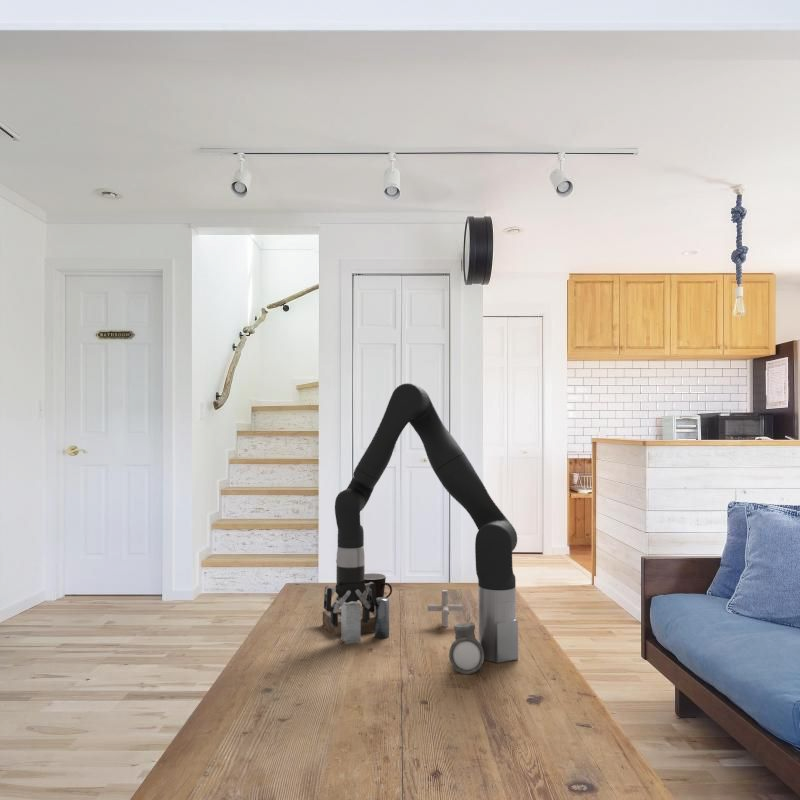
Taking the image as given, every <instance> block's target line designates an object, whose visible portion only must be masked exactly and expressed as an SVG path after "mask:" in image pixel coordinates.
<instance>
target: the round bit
mask: <svg viewBox="0 0 800 800" xmlns="http://www.w3.org/2000/svg"><path fill="white" fill-rule="evenodd" d="M376 601H377V604H376V605H375V611H374V615H375V632H374V637H375V638H376V639H380V640H381V639H388V638H390V597H388V598H386V596H384V597H378V598H376Z"/></svg>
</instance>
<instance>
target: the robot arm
mask: <svg viewBox="0 0 800 800" xmlns="http://www.w3.org/2000/svg"><path fill="white" fill-rule="evenodd" d="M408 424H410V425H411V427H412V428H413V430H414V431H415V432H416V434H417V435H418V437H419V438H420V440H421V443H422V444H423V445H422V446H423V447H424V451H425V454H426V456H427V459H428V462H429V464H430V467H431V468H432V470H433V472H434V473H435V475H436V477H437V478H438V480H439V482H440V483H441V485H442V486H443V488H444V489H445V490H446V492H447V493H448V494H449V495H450V496H451V497H452V498H453V499H454V500H455V501H456V502H458V504H459V505H460V506H462V508H463V509H465V511H466V512H467V513H468V515H469V516H470V518H471V520H472V521H473V523H474V524H475V526H476V528H477V530H478V531H477V532H476V534H475V535H476V536H475V542H474V544H475V545H474V552H475V556H474V557H475V572H476V576H477V583H478V591H477V592H478V642H479V643H480V644H481V646H482V648H483V652H484V660H486V661H488V662H489V661H491V662H494V663H497V664H499V663H505V662H510V661H515V660H519V622H518V619H517V609H516V608H517V602H516V600H517V599H516V595H517V594H516V591H517V590H516V589H517V587H516V583H517V582H516V575H515V573H514V571H513V570H514V569H513V551H514V550H515V549H516V547H517V544H518V536H517V535H518V534H517V532H516V531H517V530H516V529H515V527H514V526H513V524H512V523H511V522H510V521H509V520H508V518H507V517H506V516H505V514H504V513H503V512H502V511H501V509H500V508H499V507H498V505H497V504H496V503H495V502H494V500H493V498H492V497H491V496H490V494H489V492H488V490H487V489H486V486H485V485H484V483H483V481H482V480H481V478H480V477H479V475H478V473H477V472H476V470H475V468H474V466H473V464H472V463H471V462H470V460H469V459H468V457H467V455H466V454H465V452H464V451H463V449H462V448H461V446H460V445H459V444H458V442H457V441H456V439H455V438H454V436H452V434H451V433H450V431H449V430H448V429H447V428H446V426H445V424H444V423H443V422H442V420H441V418H440V416H439V414H438V413H437V410H436V408H435V406H434V405H433V402H432V400H431V398H430V395H429V394H428V392H427V391H426V390H425V389H424V388H422V387H420V386H419V385H416V384H413V383H410V382H407V383H403V384H400V385H398V386H397V387H395V389H394V390H393V392H392V393H391V396H390V399H389V401H388V403H387V406H386V409H385V410H384V414H383V416H382V418H381V421H380V423H379V425H378V427H377V429H376V431H375V434H374V435H373V437H372V439H371V441H370V443H369V445H368V446H367V448H366V450H365V451H364V453H363V455H362V456H361V457H360V460H359V462H358V463H357V465H356V467H355V469H354V470H353V475H352V476H353V477H352V479H351V480H350V482H349V484H348V486H347V488H345V489H344V490H343V491H340V492H339V493H338V494H337V496H336V498H335V500H334V501H335V502H334V516H335V520H336V521H335V522H336V526H337V527H336V528H337V548H336V560H335V562H336V578H335V579H336V584H335V586H333V587H329V586H327V585H326V586H325V587H324V597H323V609H324V611H328V612H331V624H332V625H333V626H334V627H338V613H337V611H338V610H339V609H341V606H342V605H343V603H344V602H346V603H349V602H351V601H353V602H358V601H359V603H360V604H361V606H362V605H363V606H364V607H363V608H362V621H363V622H364V623H368V620H369V619H370V612H371V611H370V607H372V606H375V605H376V604H377V601H376V585H375V584H374V583H372V582H369V583H367V584H365V583H364V579H365V574H366V573H365V571H366V569H365V564H366V562H365V560H366V559H365V547H364V546H365V545H364V544H365V543H364V542H365V540H364V539H365V538H364V534H365V533H364V527H363V525H361V511H363V510H364V508H365V507H366V506H367V503H369V500H370V499H371V495H372V493H373V492H374V489H375V487H376V485H377V483H379V480H380V478H381V477H382V475H383V474H384V472H385V471H386V468H387V466H388V465H389V463H390V460H391V458H392V456H393V453H394V450H395V447H396V443H397V441H398V440H399V438H400V436H401V434H402V432H403V431H404V429H405V427H406V426H407V425H408ZM366 588H367V590H368V591H369V601H368V602H367V600H366V599H365V597H364V596H363V595H362V594H363V592H364V591H365V589H366ZM335 593H336V597H335V598H334V600H333V599H332V597H333V596H334V594H335ZM332 600H333V603H332Z"/></svg>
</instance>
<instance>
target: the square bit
mask: <svg viewBox="0 0 800 800" xmlns="http://www.w3.org/2000/svg"><path fill="white" fill-rule="evenodd" d="M361 606H362V603H361V602H358V601H357V602H353V601H351V602H349V603H346V602H344V603H343V605H342V606H341V607H340V609H341V637H340V639H341V642H343V641H344V642H345V643H346V645H349V644H350V645H351V644H357V643H361V642H362V641H361V639H362V634H361ZM344 642H343V643H344ZM345 643H344V644H345Z"/></svg>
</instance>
